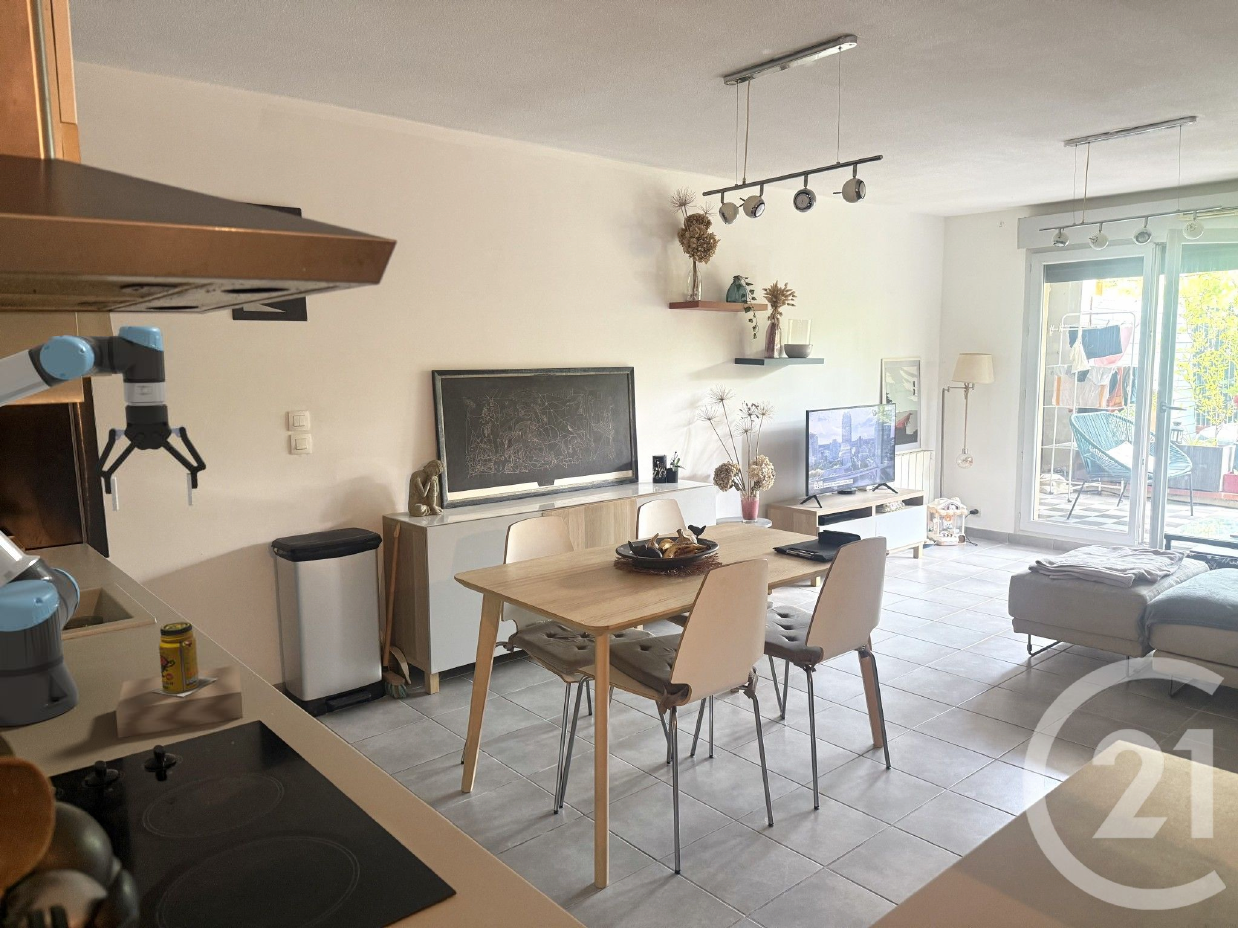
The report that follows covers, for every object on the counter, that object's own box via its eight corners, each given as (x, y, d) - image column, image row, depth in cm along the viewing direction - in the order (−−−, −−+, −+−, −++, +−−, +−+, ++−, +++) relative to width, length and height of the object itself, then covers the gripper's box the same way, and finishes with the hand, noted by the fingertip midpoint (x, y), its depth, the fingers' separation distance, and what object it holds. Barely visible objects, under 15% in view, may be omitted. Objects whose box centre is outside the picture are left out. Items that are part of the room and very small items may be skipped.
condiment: (151, 692, 159) (146, 629, 157) (187, 675, 167) (182, 615, 165) (183, 697, 157) (178, 634, 155) (218, 680, 165) (213, 619, 163)
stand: (118, 737, 152) (115, 710, 151) (125, 706, 164) (123, 681, 164) (242, 717, 160) (241, 691, 159) (240, 689, 173) (239, 665, 172)
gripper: (70, 406, 166) (80, 515, 169) (214, 403, 177) (220, 505, 180) (76, 403, 173) (85, 508, 176) (214, 400, 183) (220, 499, 187)
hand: (153, 507), depth 178 cm, fingers open, 13 cm apart
